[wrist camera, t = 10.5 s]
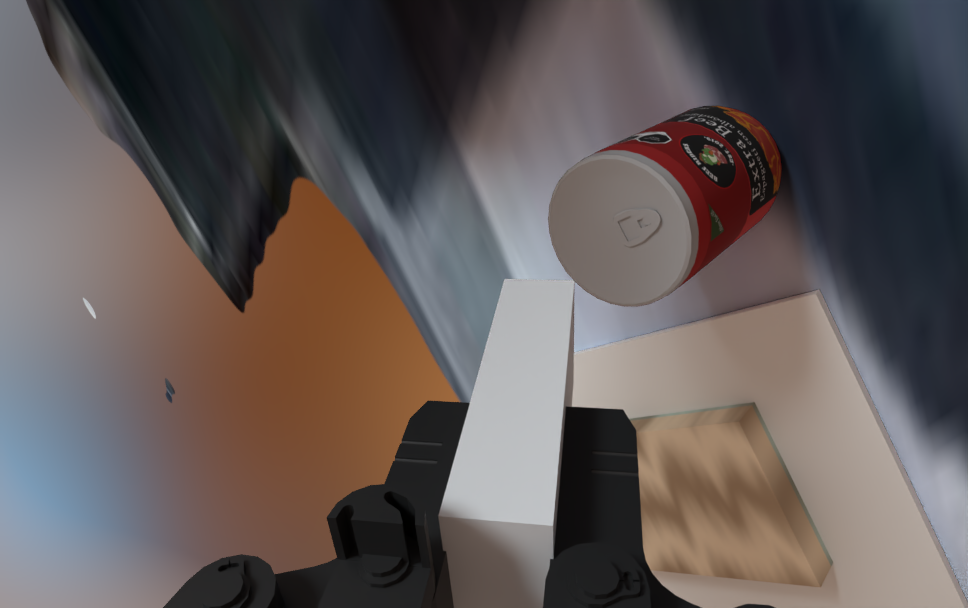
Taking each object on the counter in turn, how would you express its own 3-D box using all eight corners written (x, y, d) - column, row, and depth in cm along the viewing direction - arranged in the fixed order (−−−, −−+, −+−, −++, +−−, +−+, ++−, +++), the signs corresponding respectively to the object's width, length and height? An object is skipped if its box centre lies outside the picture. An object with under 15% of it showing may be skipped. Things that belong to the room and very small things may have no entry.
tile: (754, 402, 42) (578, 425, 54) (738, 421, 40) (561, 440, 52) (833, 562, 42) (642, 549, 55) (820, 587, 41) (627, 567, 53)
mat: (538, 361, 55) (534, 364, 55) (819, 289, 36) (815, 293, 36) (663, 602, 57) (660, 607, 56) (990, 650, 38) (988, 658, 38)
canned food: (818, 177, 34) (728, 252, 27) (710, 258, 40) (614, 335, 33) (722, 70, 35) (611, 115, 28) (631, 164, 41) (522, 220, 34)
